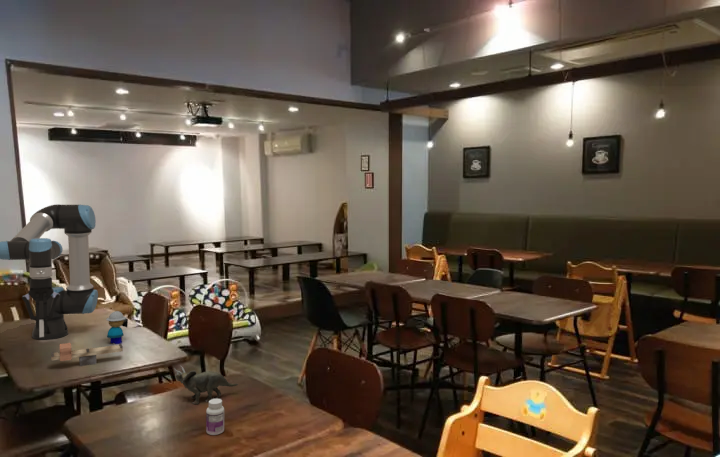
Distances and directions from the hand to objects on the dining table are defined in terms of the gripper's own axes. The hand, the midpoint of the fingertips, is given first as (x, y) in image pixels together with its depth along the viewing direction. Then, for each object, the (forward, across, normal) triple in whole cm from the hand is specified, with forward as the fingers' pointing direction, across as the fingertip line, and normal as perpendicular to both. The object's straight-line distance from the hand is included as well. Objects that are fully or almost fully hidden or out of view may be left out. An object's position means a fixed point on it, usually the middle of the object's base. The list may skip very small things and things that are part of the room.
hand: (41, 336), depth 204 cm
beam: (+14, +16, 0) cm, 21 cm away
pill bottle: (+15, +46, -84) cm, 97 cm away
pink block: (+10, +8, 0) cm, 13 cm away
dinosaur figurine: (+15, +49, -59) cm, 78 cm away
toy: (+14, +30, +27) cm, 42 cm away
